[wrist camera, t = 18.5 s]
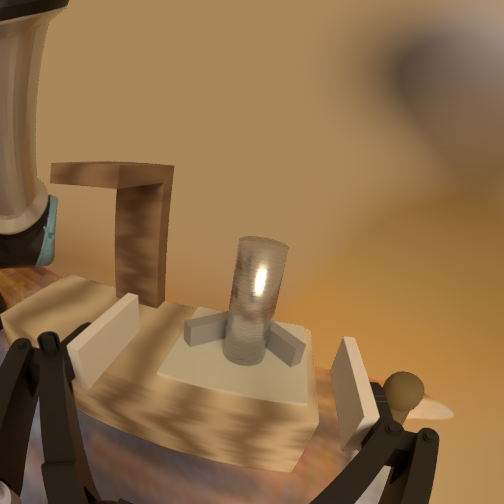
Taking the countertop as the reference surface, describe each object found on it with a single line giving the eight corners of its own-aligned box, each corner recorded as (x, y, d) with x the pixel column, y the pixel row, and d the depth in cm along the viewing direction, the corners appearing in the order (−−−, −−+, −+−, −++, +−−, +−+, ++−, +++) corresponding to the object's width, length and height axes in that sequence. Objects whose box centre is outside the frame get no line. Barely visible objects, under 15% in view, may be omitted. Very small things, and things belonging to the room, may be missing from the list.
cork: (342, 434, 29) (376, 374, 26) (371, 417, 32) (404, 358, 28) (371, 463, 24) (415, 405, 20) (398, 441, 27) (439, 384, 23)
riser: (20, 373, 26) (-1, 314, 23) (76, 325, 41) (69, 273, 38) (290, 472, 23) (318, 422, 20) (293, 383, 38) (310, 329, 35)
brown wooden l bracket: (61, 323, 26) (51, 163, 21) (111, 286, 37) (114, 161, 32) (121, 348, 25) (119, 165, 20) (164, 300, 37) (174, 165, 32)
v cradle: (157, 374, 23) (155, 351, 22) (198, 308, 36) (200, 289, 36) (307, 405, 22) (316, 384, 21) (302, 328, 35) (307, 309, 35)
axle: (214, 351, 28) (228, 239, 24) (240, 336, 31) (258, 234, 28) (247, 371, 25) (271, 254, 22) (272, 353, 29) (296, 247, 25)
